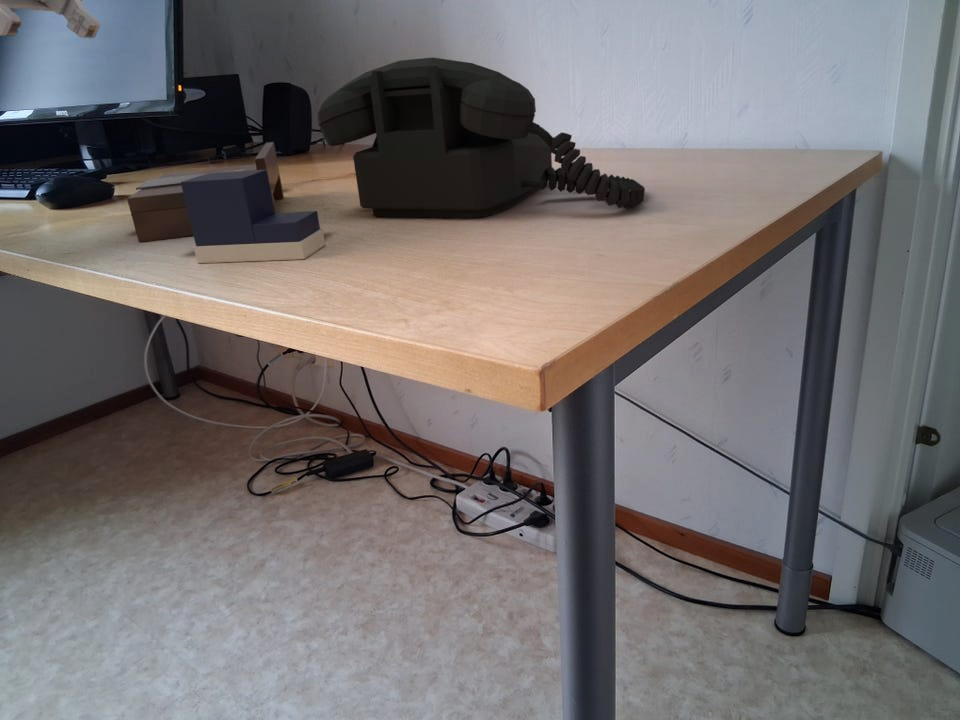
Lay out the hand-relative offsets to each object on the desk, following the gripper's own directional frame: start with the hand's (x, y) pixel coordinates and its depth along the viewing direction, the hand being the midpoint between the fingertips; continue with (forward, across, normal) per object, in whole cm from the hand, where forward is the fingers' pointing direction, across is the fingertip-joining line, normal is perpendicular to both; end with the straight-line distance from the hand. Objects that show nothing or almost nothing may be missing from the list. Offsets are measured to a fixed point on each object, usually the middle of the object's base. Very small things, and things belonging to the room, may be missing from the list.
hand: (55, 30), depth 58 cm
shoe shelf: (+14, -18, -14) cm, 26 cm away
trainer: (+24, +1, -4) cm, 25 cm away
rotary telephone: (+38, -19, +10) cm, 44 cm away
